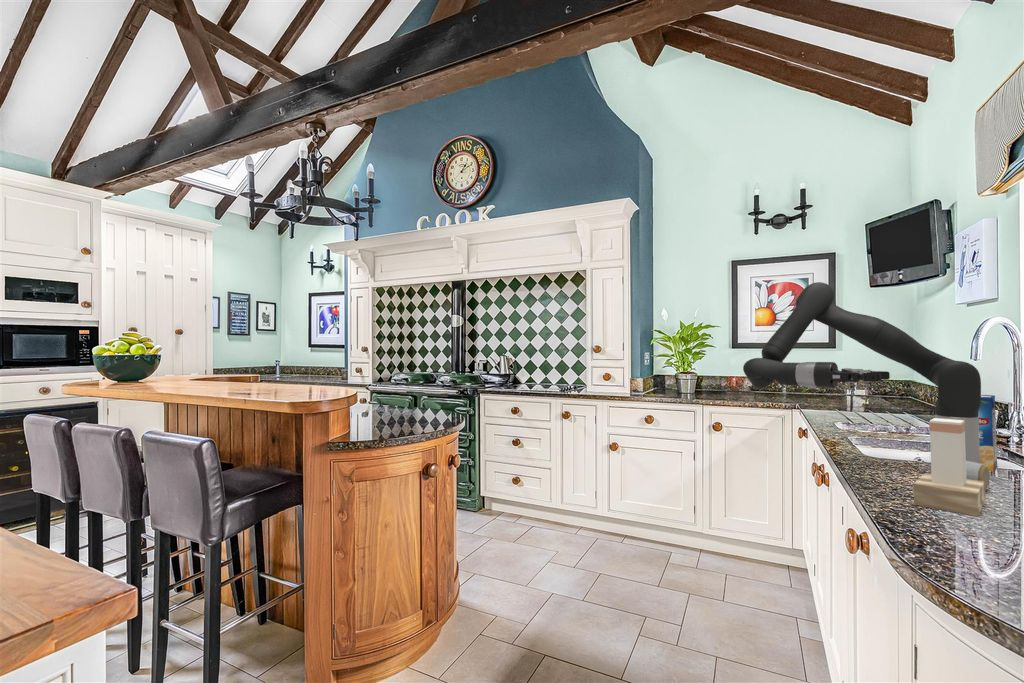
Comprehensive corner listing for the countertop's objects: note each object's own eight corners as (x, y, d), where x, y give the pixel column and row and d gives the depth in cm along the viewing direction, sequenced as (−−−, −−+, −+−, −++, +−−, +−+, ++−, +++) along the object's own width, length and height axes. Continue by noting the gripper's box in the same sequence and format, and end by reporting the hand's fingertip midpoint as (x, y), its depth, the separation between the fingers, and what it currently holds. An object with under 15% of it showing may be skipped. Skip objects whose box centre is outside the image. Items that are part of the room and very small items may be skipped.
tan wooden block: (925, 492, 123) (925, 472, 123) (985, 502, 115) (984, 481, 115) (914, 504, 114) (913, 483, 114) (977, 516, 106) (977, 493, 106)
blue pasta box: (994, 471, 141) (991, 397, 142) (945, 464, 150) (942, 394, 150) (997, 467, 146) (995, 395, 146) (949, 460, 154) (947, 393, 154)
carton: (936, 478, 118) (934, 417, 119) (966, 482, 114) (964, 420, 114) (931, 482, 115) (929, 420, 115) (962, 487, 111) (960, 423, 111)
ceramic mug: (982, 494, 120) (981, 464, 120) (940, 487, 127) (939, 458, 127) (995, 488, 126) (994, 459, 126) (954, 481, 133) (954, 453, 133)
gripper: (807, 362, 135) (877, 363, 122) (824, 361, 144) (891, 361, 132) (808, 389, 135) (878, 392, 122) (825, 385, 144) (892, 388, 132)
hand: (885, 376), depth 127 cm, fingers open, 8 cm apart
